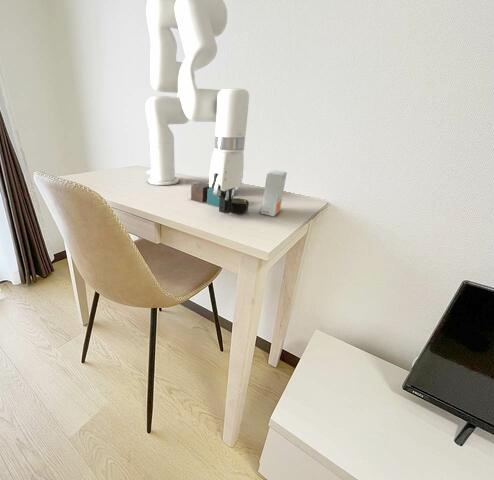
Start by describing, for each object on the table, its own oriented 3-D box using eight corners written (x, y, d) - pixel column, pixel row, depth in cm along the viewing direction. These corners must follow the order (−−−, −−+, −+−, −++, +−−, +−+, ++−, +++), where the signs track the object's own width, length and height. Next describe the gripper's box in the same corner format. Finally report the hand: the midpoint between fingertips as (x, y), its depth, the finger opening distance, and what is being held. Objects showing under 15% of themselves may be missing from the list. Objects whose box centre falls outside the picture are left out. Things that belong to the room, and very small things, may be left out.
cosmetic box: (274, 216, 75) (281, 175, 70) (260, 213, 77) (266, 173, 72) (280, 210, 80) (287, 171, 74) (266, 208, 82) (272, 169, 76)
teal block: (206, 203, 85) (207, 188, 82) (215, 199, 88) (216, 185, 86) (219, 206, 82) (220, 191, 80) (228, 203, 85) (229, 188, 83)
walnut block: (191, 199, 88) (191, 185, 86) (200, 196, 92) (200, 182, 89) (202, 202, 85) (203, 187, 83) (211, 199, 89) (212, 184, 86)
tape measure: (240, 207, 82) (242, 196, 80) (252, 214, 76) (253, 202, 74) (221, 209, 80) (222, 197, 78) (231, 217, 74) (232, 205, 72)
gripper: (233, 141, 73) (228, 203, 81) (199, 145, 63) (198, 215, 71) (257, 143, 69) (249, 208, 77) (225, 148, 59) (220, 222, 67)
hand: (224, 211), depth 74 cm, fingers closed
